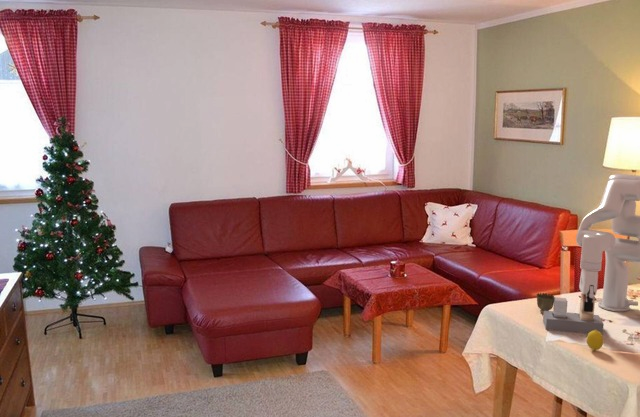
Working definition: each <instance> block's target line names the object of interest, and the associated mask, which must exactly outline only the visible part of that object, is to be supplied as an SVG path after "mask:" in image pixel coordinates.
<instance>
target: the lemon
mask: <svg viewBox="0 0 640 417" xmlns="http://www.w3.org/2000/svg"><path fill="white" fill-rule="evenodd" d="M586 344H587V346H588V347H589V348H590V349H591V350H592V351H593V352H594V351H596V350H599V349H601V348H603V345H604V336H603V335H602V334H601V333H600V332H599V331H597V330H594V331H591V332H590V333H589V334H587V336H586Z"/></svg>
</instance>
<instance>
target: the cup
mask: <svg viewBox="0 0 640 417" xmlns="http://www.w3.org/2000/svg"><path fill="white" fill-rule="evenodd" d="M554 297H555V295H553V293H551V294H550V293H548V294H547V292H543V293H541V292H540V293H539V292H538V293H536V304H537V307H538V309H540V310H539V311H540V313H543V314H544V311H552V310H553V308H554Z"/></svg>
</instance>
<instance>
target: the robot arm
mask: <svg viewBox="0 0 640 417" xmlns="http://www.w3.org/2000/svg"><path fill="white" fill-rule="evenodd" d="M599 202H600V203H599V205H598V207H597V208H595V209H593V210H592V211H591V212H589V213H588V214H586V215H585V216H584V217H583V219H582V220H581V222H580V224H579V227H578V230H577V232H576V236H575V242H576V244H577V245H578V246H579V247H581V252H580V253H581V254H580V264H579V265H580V266H579V268H580V269H581V272H580V277H579V285H578V286H579V290H580V292H581V293H582V294H583V295H585V294H586V300H585V302H584V311H585V312H593V303H594V302H593V301H594V296H596V295H597V293H598V281H599V280H598V279H599V272H600V271H602V261H603V252H604V254H605V266H604V267H605V268H604V279H603V280H604V281H603V288H602V299H601V300H600V301H598V302H597V305H598V307H600V308H601V309H604V310H607V311H611V312H612V311H613V312H620V313H621V312H627V311H630V306H633V307H634V306H635V307H639V301H634V300H633V299H628V297H627V296H628V287H629V275H630V269H629V266H628V265H627V263H626V262H630V263H635V264H640V215H636V210H637V202H640V175H636V174H634V175H633V174H626V173H625V174H624V173H617V174H616V173H615V174H611V175H610V176H608V179H607V183H606V184H605V188H604V191H603V193H602V196H601V200H600V201H599ZM610 220H612V221H611V222H612V223H611V231H612V233H611V232H608V231H601V230H597V229H596V230H594V229H590V228H592V226H594V225H596V224H598V223H600V222H605V221H606V222H607V221H610ZM614 234H615V235H619V236H625V237H630V238H631V237H632V238H637V239H638V240H633V239H628V238H622V237H621V238H620V237H616V236H615V235H614ZM588 296H589V297H588Z"/></svg>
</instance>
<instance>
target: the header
mask: <svg viewBox="0 0 640 417" xmlns="http://www.w3.org/2000/svg"><path fill="white" fill-rule="evenodd" d="M542 321H543V325H544V328H545V330H546V331H554V332H555V331H556V332H567V333H577V334H587V335H588V334H589V333H590V332H591V331H594V330H597V331H599V332H600V333H601V334H602V336H603V335H604V322H603V320H602V319H601V317H600V315H598V314H594V317H593V321H588V320H580V318H579V313H578V312H577V313H576V312H567V315H566V319H565V318H554V317H553V310H549V311H544V313H543V316H542Z"/></svg>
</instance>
